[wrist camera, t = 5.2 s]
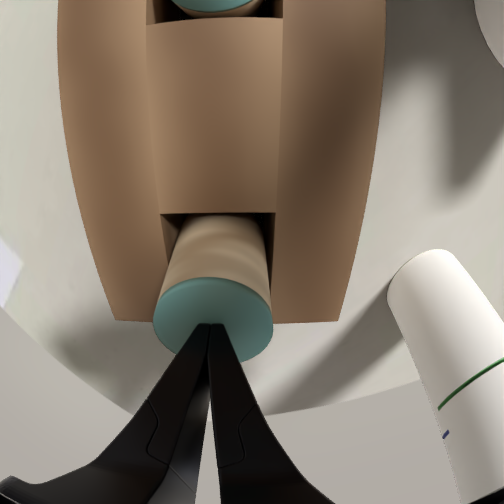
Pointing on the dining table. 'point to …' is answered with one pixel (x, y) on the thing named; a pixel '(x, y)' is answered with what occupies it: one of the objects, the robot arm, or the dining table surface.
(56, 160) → the dining table surface
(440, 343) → the cylindrical container
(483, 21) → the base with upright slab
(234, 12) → the peg
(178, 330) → the peg
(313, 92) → the socket block
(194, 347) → the robot arm
